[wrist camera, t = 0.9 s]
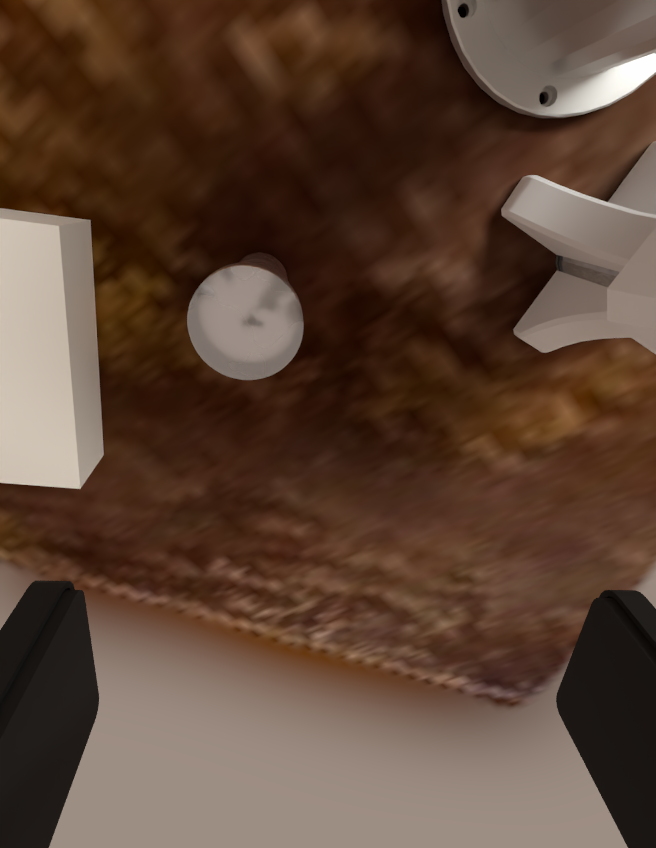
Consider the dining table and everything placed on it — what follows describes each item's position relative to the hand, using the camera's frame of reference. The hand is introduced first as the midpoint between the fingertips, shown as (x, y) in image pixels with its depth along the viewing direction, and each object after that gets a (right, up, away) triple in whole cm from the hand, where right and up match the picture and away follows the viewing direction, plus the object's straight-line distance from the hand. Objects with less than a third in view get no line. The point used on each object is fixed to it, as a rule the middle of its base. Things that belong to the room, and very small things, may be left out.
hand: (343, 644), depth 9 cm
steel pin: (-4, +12, +19) cm, 23 cm away
